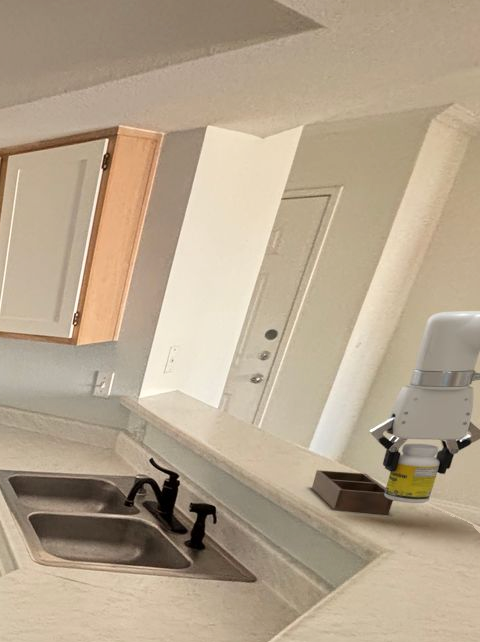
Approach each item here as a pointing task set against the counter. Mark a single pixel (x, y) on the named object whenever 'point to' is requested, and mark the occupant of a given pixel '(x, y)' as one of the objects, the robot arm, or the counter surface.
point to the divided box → (351, 492)
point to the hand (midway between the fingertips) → (414, 470)
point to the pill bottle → (413, 474)
